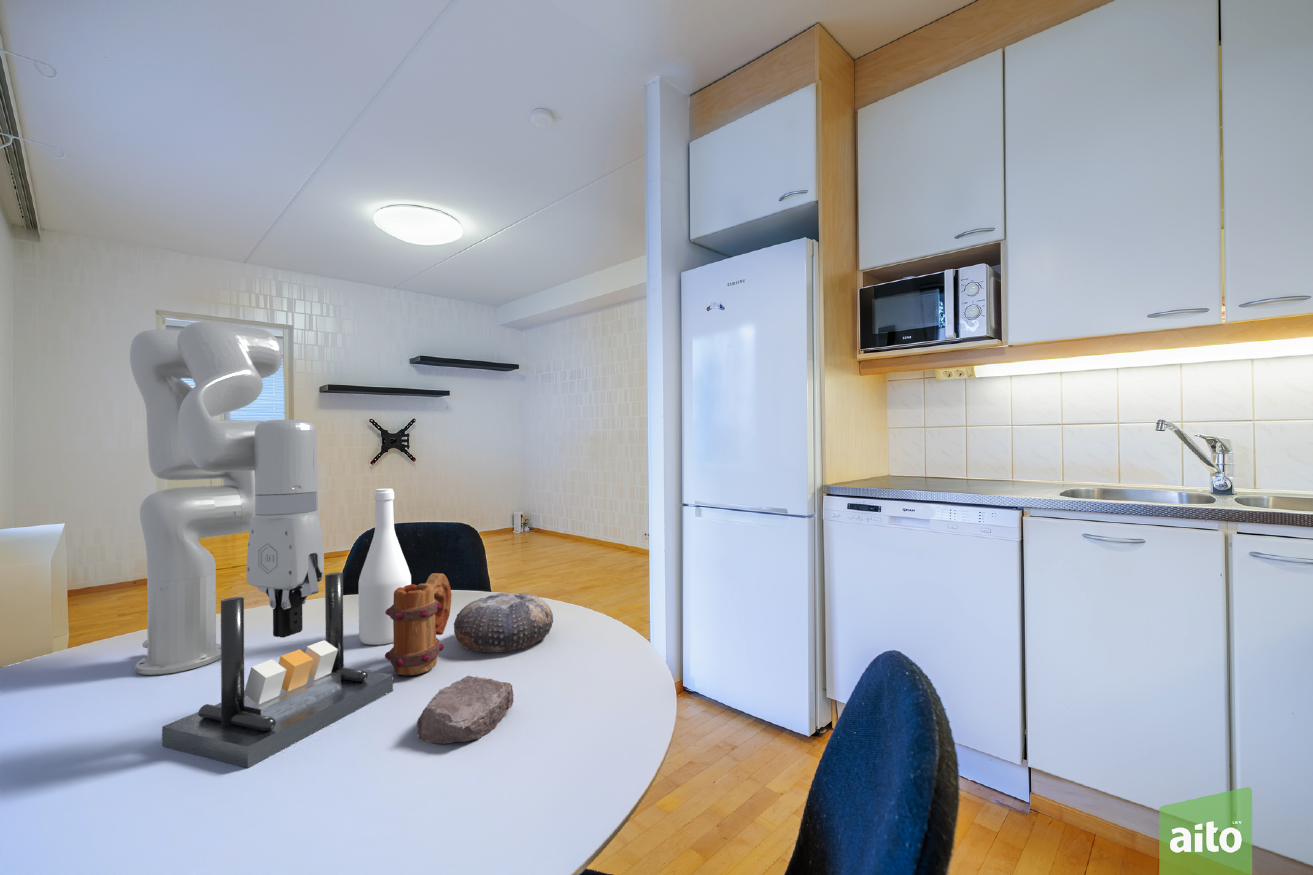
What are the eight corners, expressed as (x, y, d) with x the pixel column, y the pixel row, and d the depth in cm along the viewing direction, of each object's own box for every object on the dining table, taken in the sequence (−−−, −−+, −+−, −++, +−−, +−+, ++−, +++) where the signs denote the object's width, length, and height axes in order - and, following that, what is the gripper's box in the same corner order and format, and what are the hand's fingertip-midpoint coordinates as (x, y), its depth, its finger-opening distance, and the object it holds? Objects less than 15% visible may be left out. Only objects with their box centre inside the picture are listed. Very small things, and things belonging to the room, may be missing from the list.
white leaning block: (300, 670, 82) (307, 646, 82) (317, 663, 85) (324, 639, 84) (313, 680, 81) (321, 655, 81) (330, 672, 84) (338, 649, 83)
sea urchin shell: (545, 654, 100) (534, 599, 100) (443, 674, 100) (432, 620, 100) (563, 620, 119) (554, 574, 119) (477, 637, 119) (468, 591, 119)
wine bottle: (381, 629, 118) (379, 487, 118) (421, 631, 116) (419, 487, 116) (347, 645, 108) (346, 491, 109) (390, 647, 106) (389, 490, 107)
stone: (469, 752, 69) (469, 714, 69) (409, 743, 72) (409, 706, 72) (519, 709, 80) (519, 677, 80) (466, 703, 83) (465, 671, 83)
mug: (419, 683, 89) (418, 590, 90) (374, 680, 91) (373, 588, 91) (467, 650, 104) (466, 570, 104) (428, 648, 105) (427, 569, 106)
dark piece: (162, 746, 72) (161, 601, 72) (317, 678, 92) (316, 566, 93) (247, 767, 66) (246, 611, 67) (392, 690, 87) (391, 572, 87)
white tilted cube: (243, 693, 75) (251, 666, 74) (264, 684, 77) (272, 659, 77) (258, 704, 74) (266, 677, 73) (279, 695, 76) (286, 669, 76)
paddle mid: (273, 681, 78) (280, 656, 78) (292, 673, 81) (299, 649, 81) (287, 691, 77) (295, 666, 77) (306, 683, 80) (313, 658, 80)
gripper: (224, 507, 79) (224, 637, 78) (299, 509, 74) (301, 648, 73) (276, 502, 86) (276, 621, 86) (348, 503, 81) (349, 630, 80)
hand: (288, 633), depth 79 cm, fingers closed
